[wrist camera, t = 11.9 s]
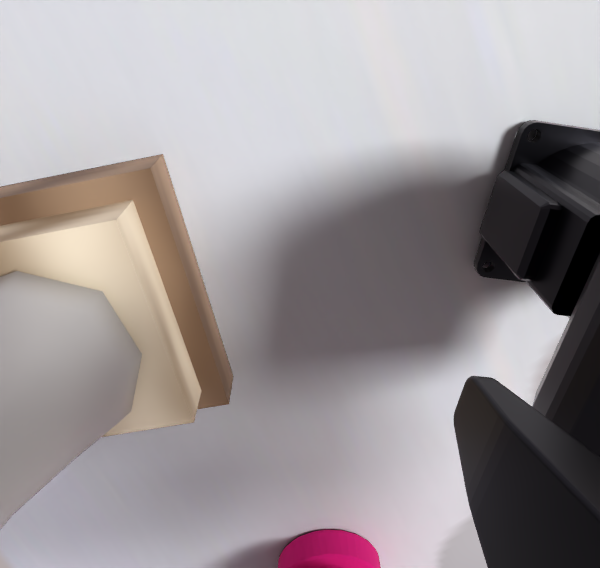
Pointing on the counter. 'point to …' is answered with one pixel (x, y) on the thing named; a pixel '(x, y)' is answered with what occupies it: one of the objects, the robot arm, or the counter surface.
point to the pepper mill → (329, 551)
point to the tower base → (163, 241)
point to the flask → (56, 379)
